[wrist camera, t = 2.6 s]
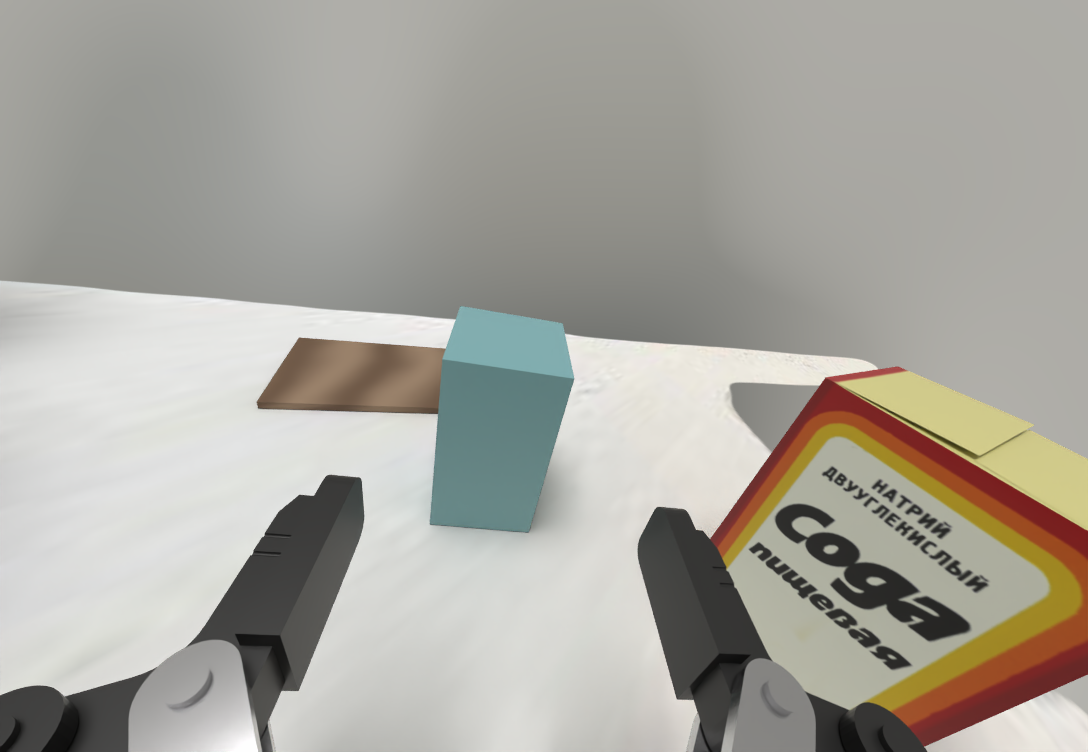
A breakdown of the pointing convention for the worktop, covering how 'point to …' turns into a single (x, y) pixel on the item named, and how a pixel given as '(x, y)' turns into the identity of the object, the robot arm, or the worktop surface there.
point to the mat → (356, 378)
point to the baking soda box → (915, 553)
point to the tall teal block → (497, 418)
